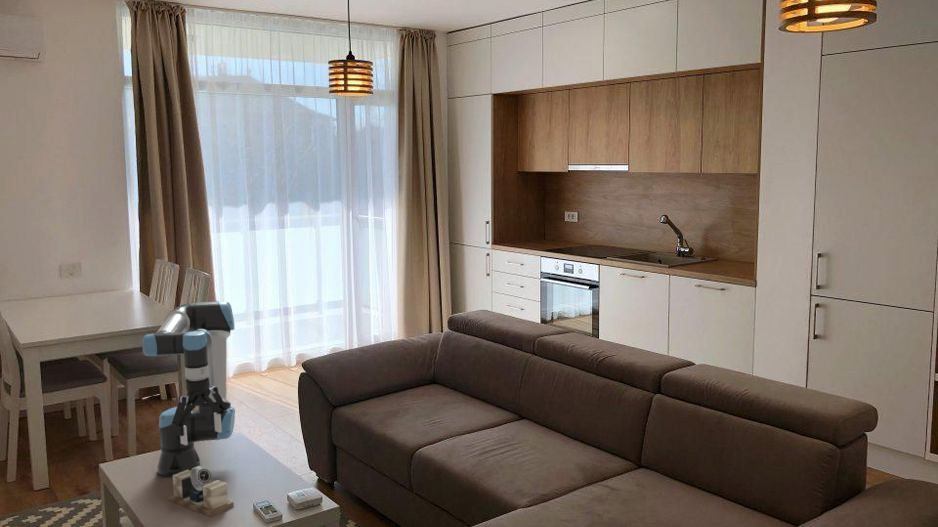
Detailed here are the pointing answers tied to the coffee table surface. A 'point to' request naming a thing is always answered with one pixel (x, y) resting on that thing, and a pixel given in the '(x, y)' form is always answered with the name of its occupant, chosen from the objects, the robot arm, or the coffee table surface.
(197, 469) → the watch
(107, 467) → the coffee table surface
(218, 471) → the coffee table surface
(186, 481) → the rail
